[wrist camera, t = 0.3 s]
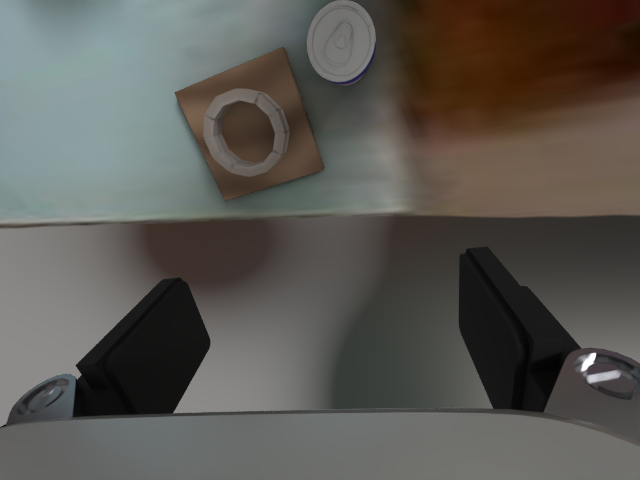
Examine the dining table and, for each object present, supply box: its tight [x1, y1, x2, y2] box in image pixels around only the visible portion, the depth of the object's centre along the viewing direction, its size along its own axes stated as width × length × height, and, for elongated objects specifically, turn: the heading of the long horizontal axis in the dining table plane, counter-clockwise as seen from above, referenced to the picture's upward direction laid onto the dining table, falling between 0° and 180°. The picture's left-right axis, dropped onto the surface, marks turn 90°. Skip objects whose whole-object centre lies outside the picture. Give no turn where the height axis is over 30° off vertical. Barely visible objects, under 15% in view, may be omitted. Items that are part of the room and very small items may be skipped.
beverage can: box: [307, 0, 376, 86], centre depth 31 cm, size 6×6×15 cm
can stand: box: [174, 47, 324, 201], centre depth 41 cm, size 15×15×4 cm
